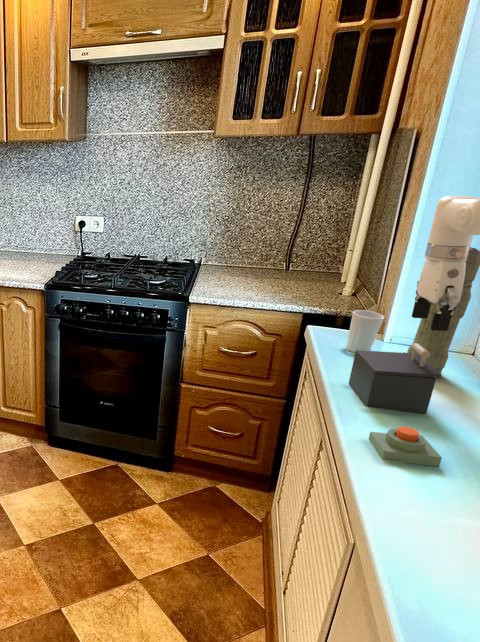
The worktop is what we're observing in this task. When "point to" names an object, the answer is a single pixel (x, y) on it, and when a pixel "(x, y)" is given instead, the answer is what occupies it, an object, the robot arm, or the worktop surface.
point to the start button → (407, 434)
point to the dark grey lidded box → (390, 389)
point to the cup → (363, 330)
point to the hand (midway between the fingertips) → (428, 323)
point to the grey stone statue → (441, 340)
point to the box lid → (399, 362)
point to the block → (404, 449)
